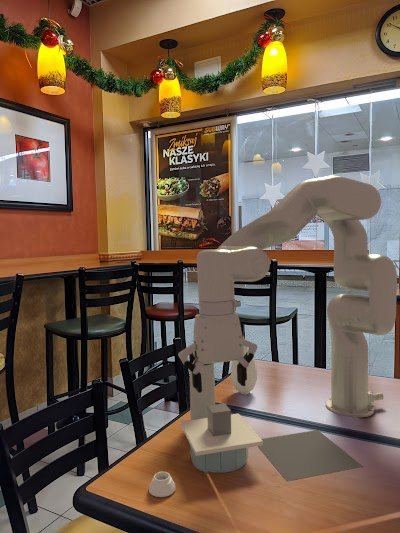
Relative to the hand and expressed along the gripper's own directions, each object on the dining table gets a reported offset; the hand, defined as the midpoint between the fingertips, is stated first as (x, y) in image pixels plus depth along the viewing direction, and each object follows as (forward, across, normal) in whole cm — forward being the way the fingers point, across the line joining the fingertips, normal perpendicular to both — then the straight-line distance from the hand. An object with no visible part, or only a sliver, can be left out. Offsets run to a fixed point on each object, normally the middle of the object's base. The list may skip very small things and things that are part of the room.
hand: (220, 387), depth 88 cm
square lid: (+10, +1, 0) cm, 10 cm away
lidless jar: (+16, +15, +8) cm, 23 cm away
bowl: (+16, +1, 0) cm, 16 cm away
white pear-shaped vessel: (+17, -18, -34) cm, 42 cm away
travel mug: (+16, 0, -16) cm, 22 cm away
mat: (+16, -17, +4) cm, 24 cm away
